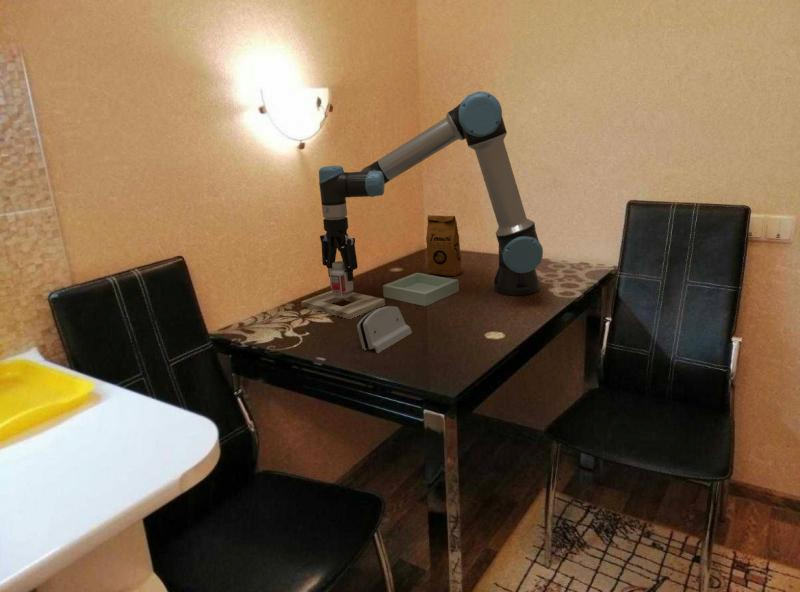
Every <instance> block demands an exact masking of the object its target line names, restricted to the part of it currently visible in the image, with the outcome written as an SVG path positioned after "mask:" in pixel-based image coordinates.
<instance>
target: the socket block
mask: <svg viewBox="0 0 800 592" xmlns="http://www.w3.org/2000/svg"><path fill="white" fill-rule="evenodd" d="M345 300H346V302H349V301H350V303H348V304H346V305H344V306H341V305H337V303H340V302H342V301H345ZM339 301H340V302H339ZM336 302H337V303H336ZM385 302H386V300H385V298H380V297H377V296H373V295H367V294H362V293H360V292H353V291H352V295H351V296H350V297H348V298H335V297H334V296H333V290H332V289H331V290H330V291H326V292H324V293H321V294H319V295H316V296H315V295H314V296H313V297H311V298H307V299H305V300H302V301H301V307H302V306H303V307H307V308H310V309H315V310H318V311H322V312H325V313H329V314H332V315H331V316H333V315H335V316H334V317H337V316H339V317H338V318H340V317H343V318H342V319H344V318H347V319H346V320H348V319H350V320H353V319H355V318H358V317H360V316H362V315H365V314H368V313H370V312H372V311H374V310H376V308H377V309H379V308H382V307H385V305H386V303H385ZM333 303H335V304H333ZM381 306H382V307H381ZM303 307H302V308H303ZM307 308H306V309H307ZM310 309H309V310H310ZM318 311H317V312H318ZM369 311H370V312H369ZM322 312H321V313H322ZM325 313H324V314H325ZM364 313H365V314H364ZM329 314H328V315H329ZM359 315H360V316H359ZM357 316H358V317H357ZM354 317H355V318H354ZM352 318H353V319H352Z"/></svg>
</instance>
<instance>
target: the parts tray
mask: <svg viewBox="0 0 800 592" xmlns="http://www.w3.org/2000/svg"><path fill="white" fill-rule="evenodd" d="M459 283H460V282H459V279H455V278H450V277H445V276H443V277H442V276H440V275H439V276H438V275H434V274H428V273H421V272H415V273H413V274H410V275H406V276H404V277H401V278H399V279H397V280H396V279H395V280H394V281H392V282H388V283H386V284H383V285H382V293H383V298H386V299H391V300H396V301H400V302H405V303H409V304H412V305H413V304H414V305H419V306H421V307H422V306H424V307H427V306H430V305H432V304H434V303H436V302H438V301H441V300H443V299H446V298H447V297H450V296H451V295H454V294H457V293H459V291H460V289H459V287H460V285H459Z"/></svg>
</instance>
